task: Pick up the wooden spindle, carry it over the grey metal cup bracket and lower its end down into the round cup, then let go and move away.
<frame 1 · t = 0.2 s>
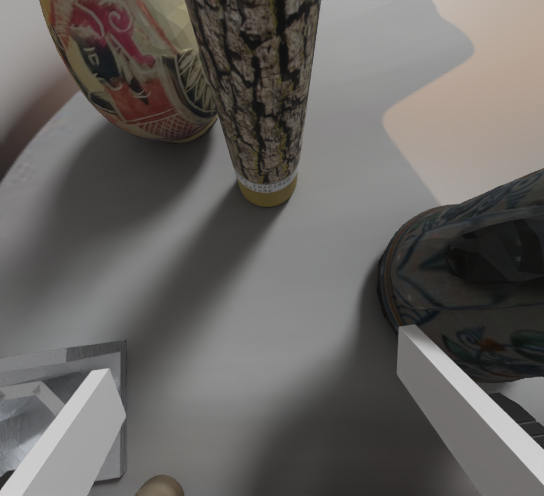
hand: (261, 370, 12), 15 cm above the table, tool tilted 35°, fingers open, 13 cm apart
paper tube: (267, 183, 32), on the table
ceramic jug: (187, 118, 35), on the table
black tapered vessel: (438, 297, 28), on the table
cup bracket: (63, 420, 26), on the table
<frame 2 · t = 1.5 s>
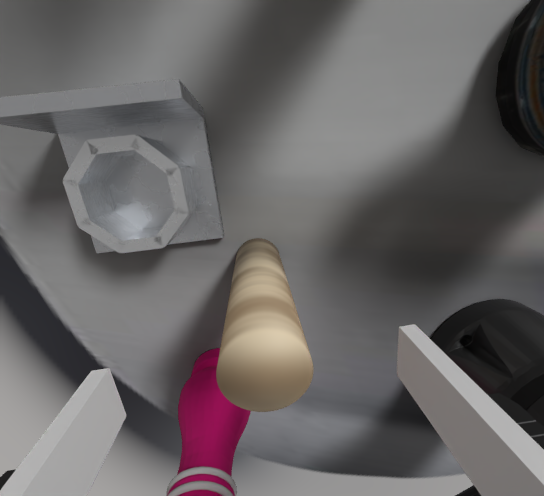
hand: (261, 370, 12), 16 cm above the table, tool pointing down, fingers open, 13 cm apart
wooden spindle: (257, 259, 28), on the table
pepper mill: (221, 368, 32), on the table
cup bracket: (151, 191, 25), on the table
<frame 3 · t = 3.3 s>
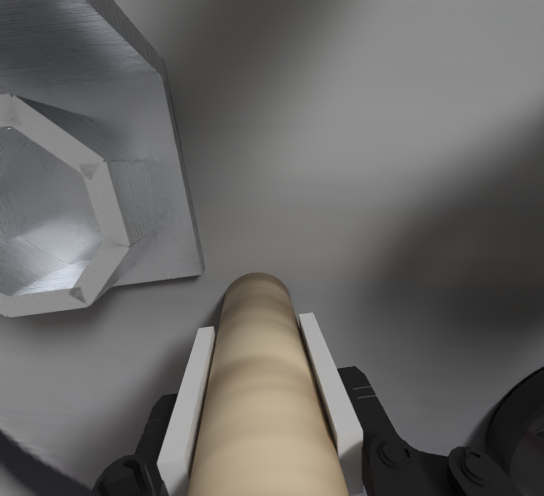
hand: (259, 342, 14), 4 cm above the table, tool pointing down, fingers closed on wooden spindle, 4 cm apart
wooden spindle: (257, 303, 18), on the table, touching gripper
cup bracket: (84, 201, 15), on the table
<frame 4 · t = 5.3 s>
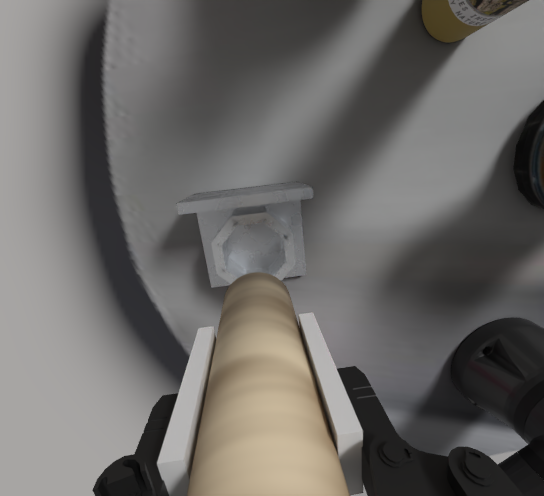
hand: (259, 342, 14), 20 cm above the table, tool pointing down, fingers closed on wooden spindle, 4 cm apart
wooden spindle: (257, 303, 18), point 16 cm above the table, touching gripper
paper tube: (448, 7, 27), on the table
cup bracket: (253, 241, 33), on the table
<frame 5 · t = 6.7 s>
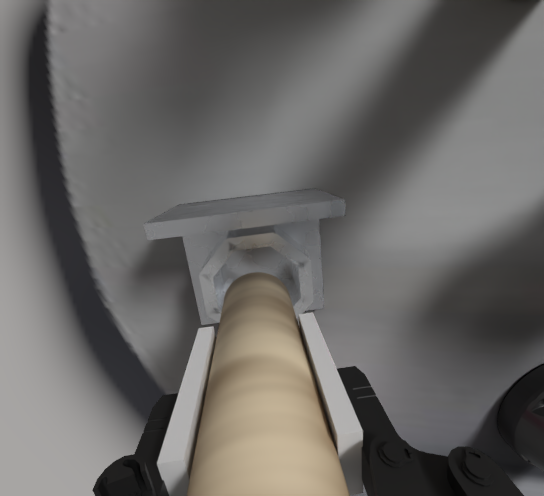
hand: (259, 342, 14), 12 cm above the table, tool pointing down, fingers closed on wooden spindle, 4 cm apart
wooden spindle: (257, 303, 18), point 8 cm above the table, touching gripper
cup bracket: (256, 265, 25), on the table
when the fingers open (8 cm above the table, at t = 7.7 s): wooden spindle drops 2 cm, point 1 cm above the table.
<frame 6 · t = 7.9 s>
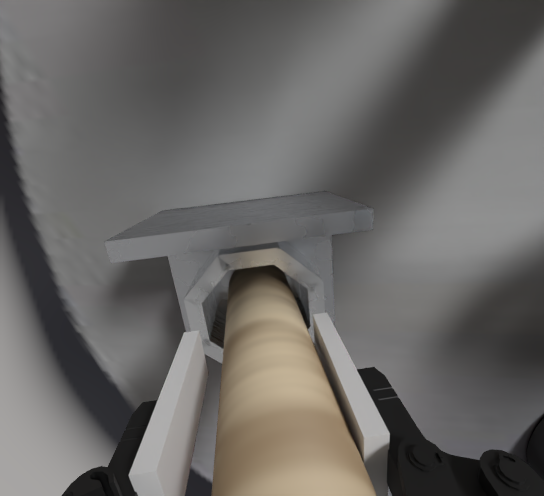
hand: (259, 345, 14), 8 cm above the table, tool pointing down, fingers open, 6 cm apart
wooden spindle: (258, 287, 20), point 1 cm above the table, touching gripper
cup bracket: (256, 281, 21), on the table
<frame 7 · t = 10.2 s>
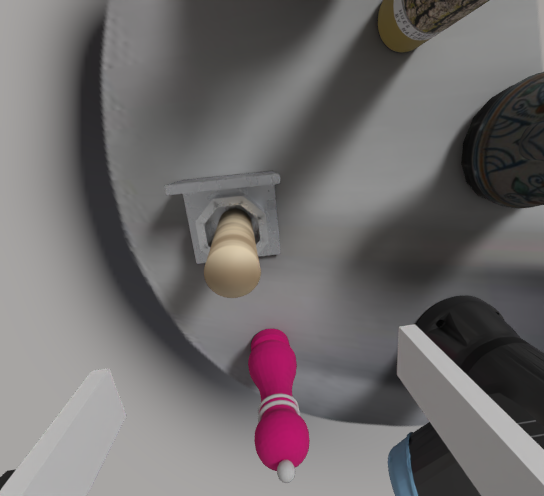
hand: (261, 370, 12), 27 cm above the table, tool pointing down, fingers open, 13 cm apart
wooden spindle: (235, 224, 36), point 1 cm above the table, touching cup bracket
pepper mill: (269, 343, 45), on the table
paper tube: (401, 21, 32), on the table
black tapered vessel: (502, 150, 38), on the table
cup bracket: (234, 223, 37), on the table
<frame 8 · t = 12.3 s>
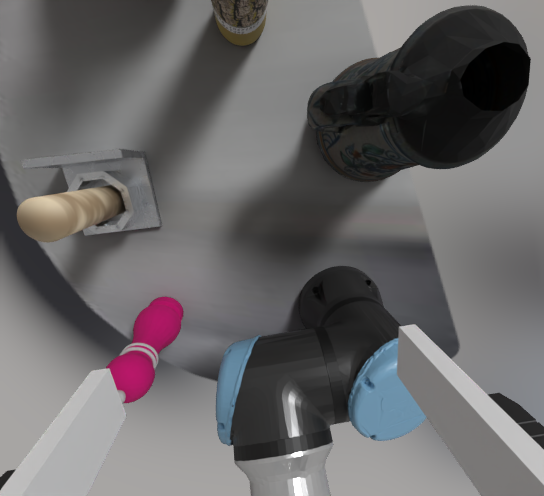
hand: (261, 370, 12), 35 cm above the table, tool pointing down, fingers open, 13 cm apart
wooden spindle: (114, 199, 42), point 1 cm above the table, touching cup bracket
pepper mill: (166, 311, 49), on the table
paper tube: (240, 19, 37), on the table
black tapered vessel: (354, 131, 43), on the table
cup bracket: (116, 199, 43), on the table
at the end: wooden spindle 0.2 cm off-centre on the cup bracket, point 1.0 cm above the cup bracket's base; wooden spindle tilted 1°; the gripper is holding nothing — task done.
